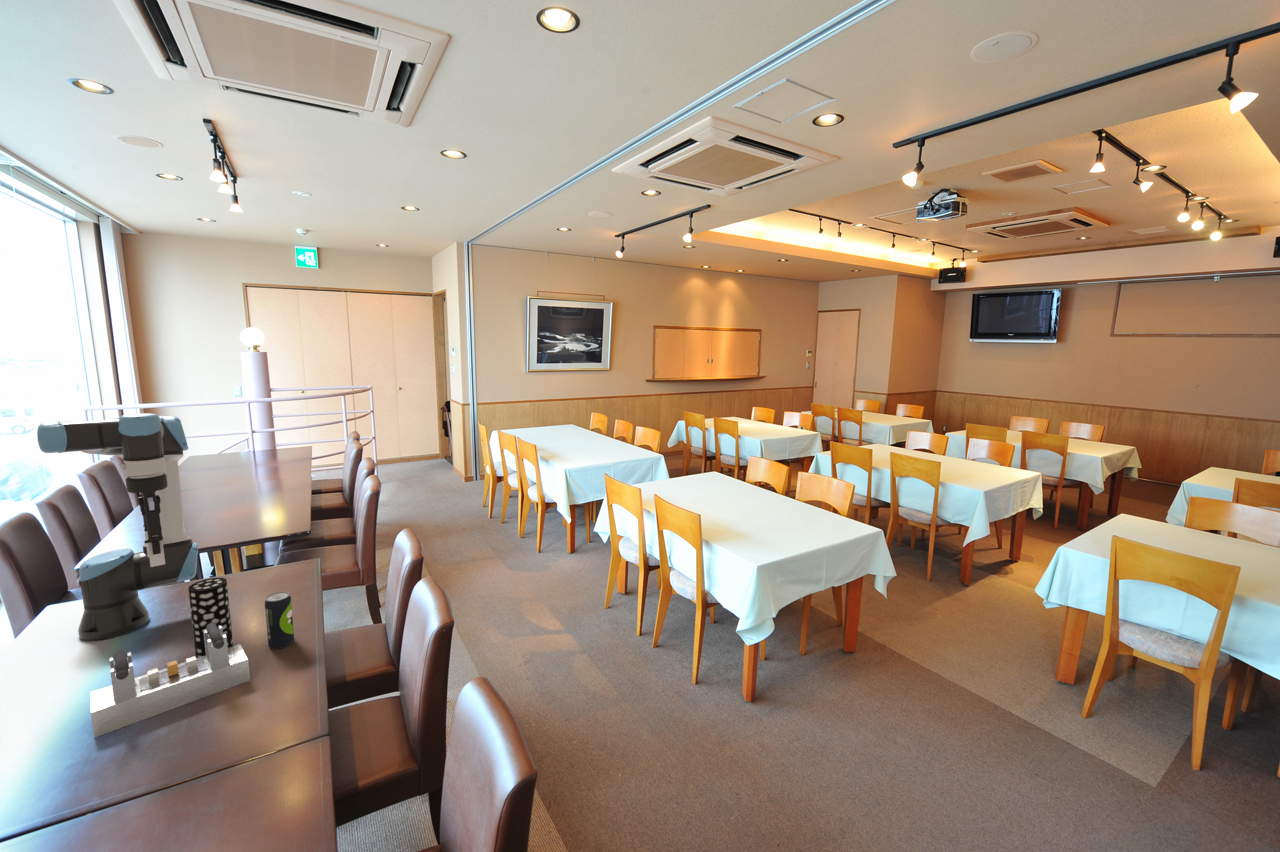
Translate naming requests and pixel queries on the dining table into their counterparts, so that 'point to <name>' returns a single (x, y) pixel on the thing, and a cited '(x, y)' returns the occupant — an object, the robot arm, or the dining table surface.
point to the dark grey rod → (215, 635)
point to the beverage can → (279, 620)
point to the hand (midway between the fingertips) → (156, 560)
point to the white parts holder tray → (167, 686)
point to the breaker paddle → (172, 668)
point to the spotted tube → (209, 610)
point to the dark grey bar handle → (121, 664)
